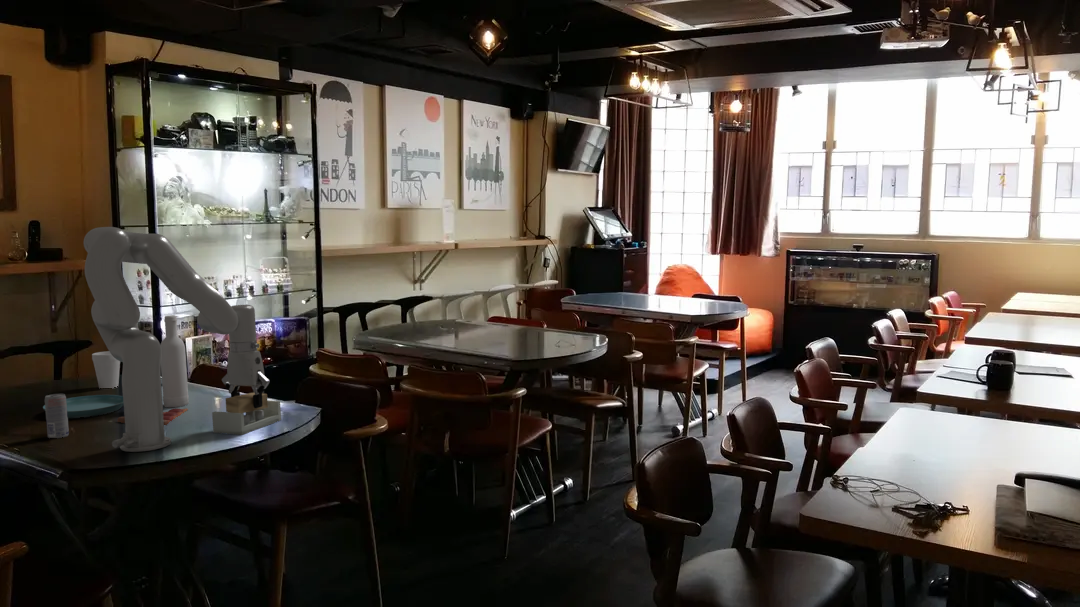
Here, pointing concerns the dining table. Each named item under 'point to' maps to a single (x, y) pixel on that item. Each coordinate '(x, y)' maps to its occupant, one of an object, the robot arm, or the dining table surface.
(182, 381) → the bottle
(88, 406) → the saucer
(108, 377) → the foam cup
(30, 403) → the dining table surface
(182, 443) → the dining table surface
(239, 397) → the oak plank
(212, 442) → the dining table surface
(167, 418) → the billiard ball rack
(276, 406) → the peg frame
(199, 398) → the dining table surface
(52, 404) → the energy drink
